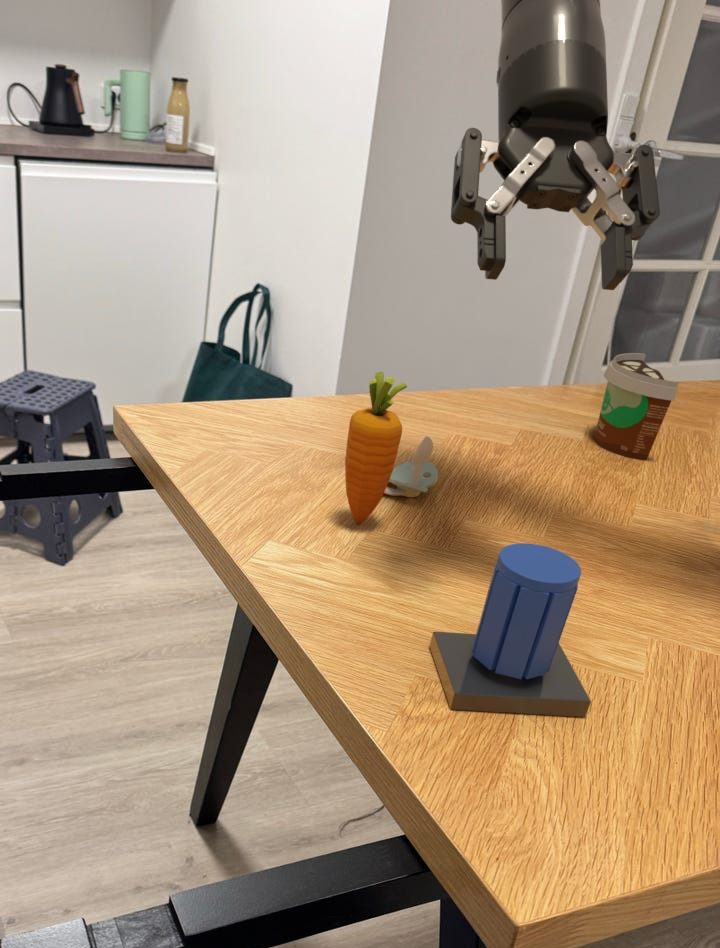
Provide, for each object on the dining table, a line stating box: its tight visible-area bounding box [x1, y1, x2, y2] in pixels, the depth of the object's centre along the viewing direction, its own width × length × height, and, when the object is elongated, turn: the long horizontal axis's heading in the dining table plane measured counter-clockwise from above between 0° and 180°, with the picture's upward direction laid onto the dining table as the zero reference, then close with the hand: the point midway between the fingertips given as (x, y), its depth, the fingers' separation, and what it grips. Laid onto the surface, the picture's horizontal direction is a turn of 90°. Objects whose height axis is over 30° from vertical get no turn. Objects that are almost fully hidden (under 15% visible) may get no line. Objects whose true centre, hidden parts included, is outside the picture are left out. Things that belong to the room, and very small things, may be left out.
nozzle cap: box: [472, 542, 582, 679], centre depth 64 cm, size 6×6×8 cm
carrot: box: [344, 371, 408, 525], centre depth 83 cm, size 5×5×15 cm
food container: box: [593, 352, 679, 461], centre depth 110 cm, size 12×6×10 cm, turn 178°
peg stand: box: [429, 630, 592, 718], centre depth 65 cm, size 10×8×10 cm
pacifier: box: [384, 435, 439, 498], centre depth 94 cm, size 7×6×6 cm
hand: (555, 278), depth 62 cm, fingers open, 8 cm apart
